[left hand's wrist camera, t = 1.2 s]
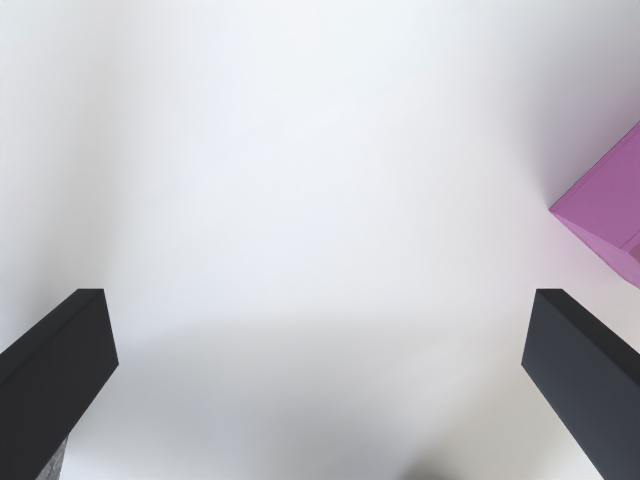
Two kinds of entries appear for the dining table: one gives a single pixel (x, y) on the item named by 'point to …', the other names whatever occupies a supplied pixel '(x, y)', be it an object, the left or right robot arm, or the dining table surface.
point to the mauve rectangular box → (609, 208)
